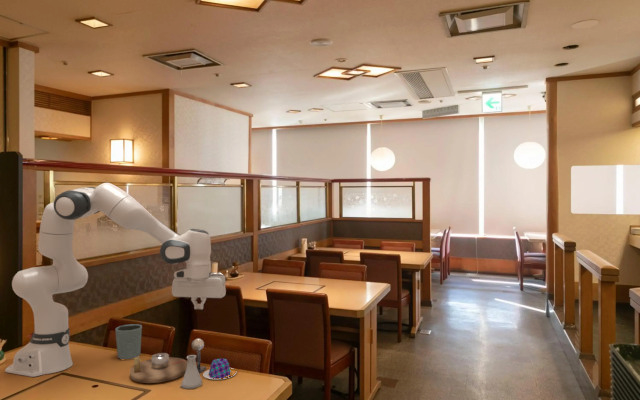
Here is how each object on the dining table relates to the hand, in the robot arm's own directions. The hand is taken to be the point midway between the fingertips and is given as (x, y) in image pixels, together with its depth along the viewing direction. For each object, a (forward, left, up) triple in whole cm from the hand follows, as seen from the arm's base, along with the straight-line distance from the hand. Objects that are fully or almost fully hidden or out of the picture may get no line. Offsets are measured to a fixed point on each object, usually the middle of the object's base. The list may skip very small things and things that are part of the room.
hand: (198, 309), depth 167 cm
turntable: (-13, -5, -23) cm, 27 cm away
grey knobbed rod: (0, 0, -23) cm, 23 cm away
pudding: (+9, -2, -24) cm, 25 cm away
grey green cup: (-35, +11, -23) cm, 44 cm away
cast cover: (-13, -5, -20) cm, 25 cm away
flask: (+3, -13, -23) cm, 27 cm away
